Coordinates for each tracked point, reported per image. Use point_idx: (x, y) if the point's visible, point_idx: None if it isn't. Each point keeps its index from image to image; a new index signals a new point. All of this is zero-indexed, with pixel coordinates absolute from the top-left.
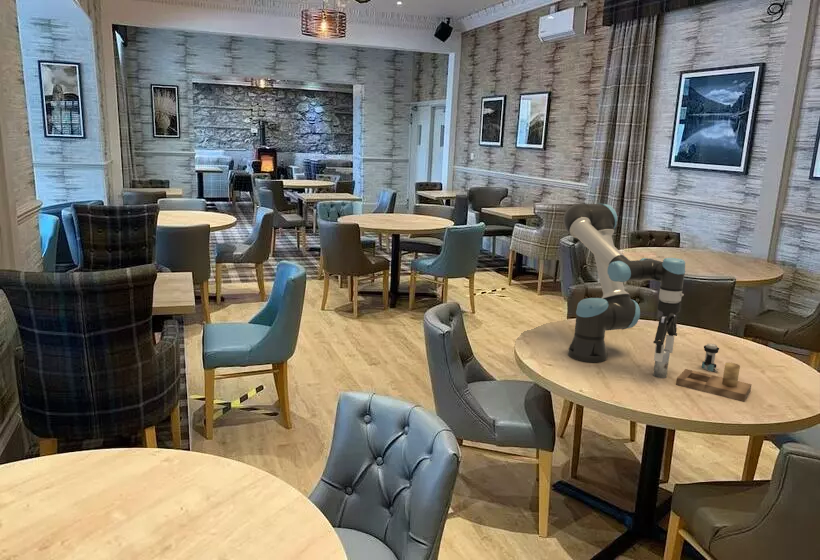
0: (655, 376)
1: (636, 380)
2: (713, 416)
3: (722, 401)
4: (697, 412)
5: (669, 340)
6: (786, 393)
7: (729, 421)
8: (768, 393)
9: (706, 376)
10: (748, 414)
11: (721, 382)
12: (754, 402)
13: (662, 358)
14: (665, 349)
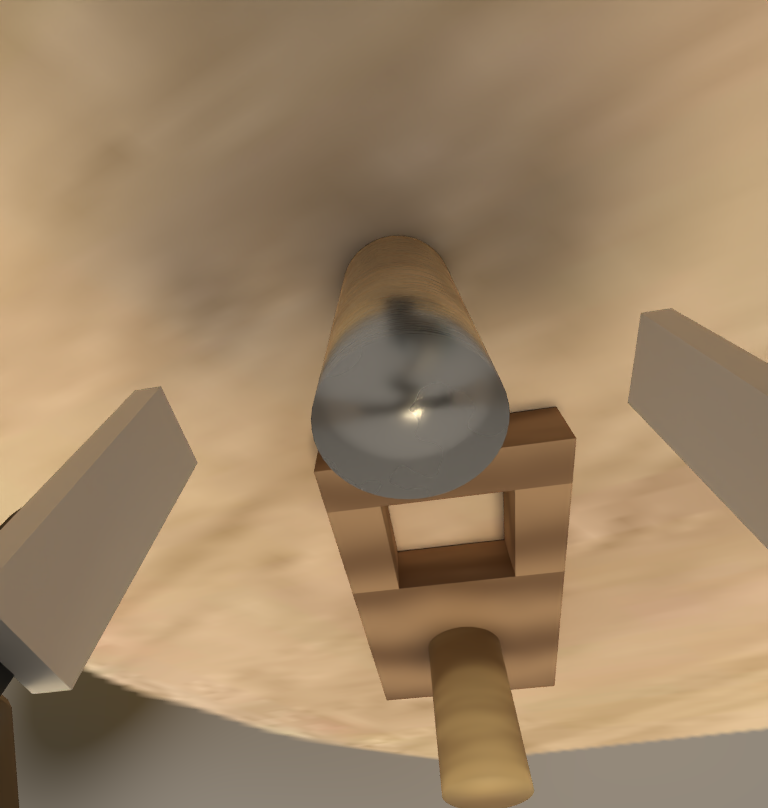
0: (344, 276)
1: (98, 203)
2: (111, 648)
3: (307, 626)
4: None
5: (764, 471)
6: (617, 705)
7: (133, 681)
8: (567, 681)
9: (515, 557)
10: (267, 693)
11: (467, 623)
12: None
13: (177, 490)
14: (487, 427)
